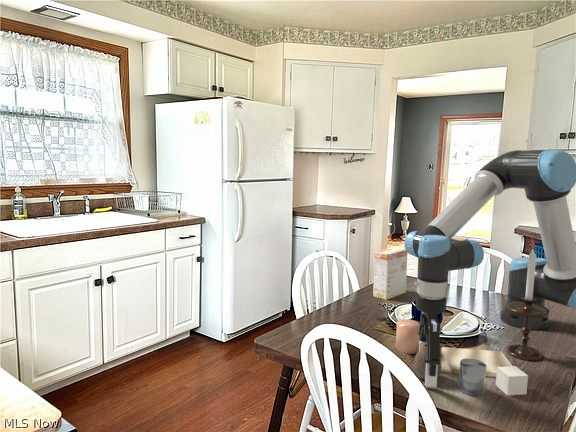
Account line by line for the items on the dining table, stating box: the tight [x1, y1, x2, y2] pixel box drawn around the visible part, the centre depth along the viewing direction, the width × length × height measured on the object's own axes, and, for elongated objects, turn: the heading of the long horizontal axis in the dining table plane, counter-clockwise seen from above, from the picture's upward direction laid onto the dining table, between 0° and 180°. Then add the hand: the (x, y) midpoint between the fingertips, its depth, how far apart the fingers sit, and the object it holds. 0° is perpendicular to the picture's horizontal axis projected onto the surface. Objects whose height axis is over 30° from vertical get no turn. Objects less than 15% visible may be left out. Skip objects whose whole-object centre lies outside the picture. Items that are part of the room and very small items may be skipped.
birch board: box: [441, 346, 513, 378], centre depth 123 cm, size 17×14×1 cm
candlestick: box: [506, 237, 550, 362], centre depth 127 cm, size 11×11×35 cm
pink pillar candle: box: [395, 318, 420, 355], centre depth 132 cm, size 7×7×8 cm
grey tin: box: [457, 358, 487, 398], centre depth 108 cm, size 6×6×7 cm
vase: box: [413, 344, 442, 381], centre depth 115 cm, size 7×7×9 cm
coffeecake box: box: [372, 246, 408, 301], centre depth 184 cm, size 15×7×20 cm, turn 133°
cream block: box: [495, 365, 529, 396], centre depth 109 cm, size 5×5×5 cm
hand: (426, 374), depth 115 cm, fingers open, 11 cm apart
